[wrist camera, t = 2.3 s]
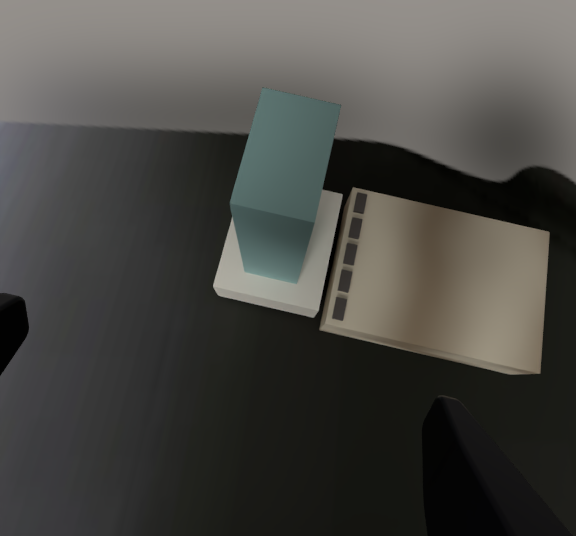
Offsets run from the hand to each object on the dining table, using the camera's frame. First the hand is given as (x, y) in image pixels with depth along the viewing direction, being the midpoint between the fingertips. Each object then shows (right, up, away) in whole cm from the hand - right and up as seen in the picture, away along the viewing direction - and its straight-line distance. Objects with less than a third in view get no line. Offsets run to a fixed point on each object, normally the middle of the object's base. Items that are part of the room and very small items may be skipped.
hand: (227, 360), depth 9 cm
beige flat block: (+9, +1, +14) cm, 16 cm away
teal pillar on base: (+1, +3, +14) cm, 14 cm away
